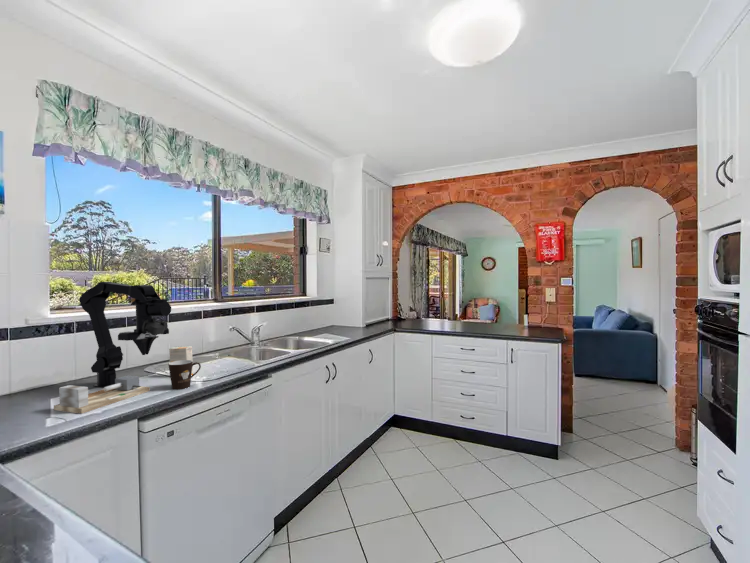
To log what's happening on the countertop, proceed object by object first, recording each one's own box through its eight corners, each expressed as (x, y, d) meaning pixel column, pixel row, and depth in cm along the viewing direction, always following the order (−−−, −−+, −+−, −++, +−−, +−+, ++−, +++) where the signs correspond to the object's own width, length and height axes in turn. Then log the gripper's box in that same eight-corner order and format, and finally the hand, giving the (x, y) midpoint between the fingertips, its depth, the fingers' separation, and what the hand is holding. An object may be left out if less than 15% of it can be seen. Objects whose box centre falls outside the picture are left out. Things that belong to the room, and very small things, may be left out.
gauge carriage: (99, 394, 135) (98, 383, 135) (127, 385, 145) (127, 375, 145) (118, 396, 132) (117, 384, 132) (145, 387, 142) (145, 376, 142)
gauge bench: (53, 410, 124) (53, 387, 124) (124, 388, 148) (124, 369, 148) (81, 413, 120) (81, 390, 120) (149, 390, 144) (149, 371, 144)
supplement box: (193, 374, 167) (192, 346, 167) (187, 377, 163) (186, 348, 162) (176, 374, 168) (175, 346, 168) (169, 377, 163) (168, 348, 163)
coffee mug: (168, 391, 142) (167, 365, 142) (169, 386, 150) (168, 361, 150) (202, 387, 147) (201, 362, 147) (201, 382, 155) (200, 358, 155)
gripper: (138, 318, 138) (139, 360, 138) (178, 314, 156) (179, 351, 156) (116, 318, 141) (117, 359, 141) (158, 313, 159) (159, 350, 159)
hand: (145, 354), depth 149 cm, fingers closed
